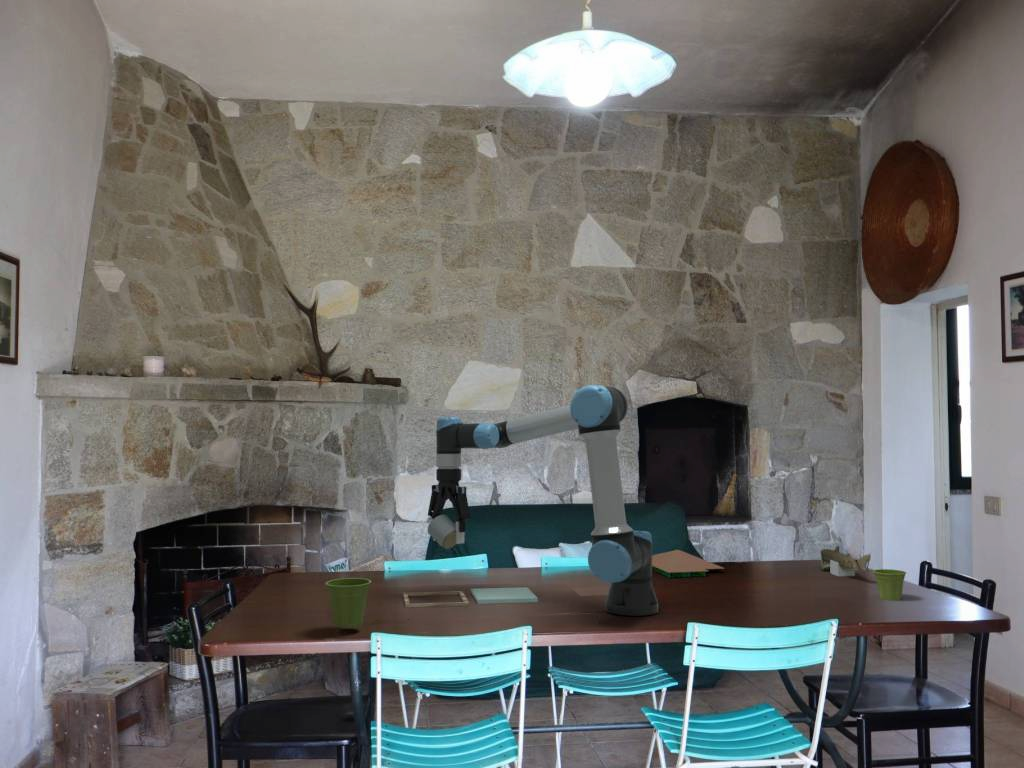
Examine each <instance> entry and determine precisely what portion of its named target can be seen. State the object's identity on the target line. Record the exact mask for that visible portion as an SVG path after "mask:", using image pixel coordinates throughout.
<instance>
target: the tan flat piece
mask: <svg viewBox="0 0 1024 768" xmlns="http://www.w3.org/2000/svg"><path fill="white" fill-rule="evenodd" d="M654 568H655V572H656V573H659V574H660V571H662V575H663V576H665V577H667V578H669V579H671V577H672V578H674V576H673V575H677V576H680V577H683V578H687V577H688V578H691V576H692V577H700V576H701V577H707V576H706V575H707V574H706V572H709V570H711V571H715V570H718V569H719V570H720V569H721V570H722V569H725V567H722V566H720V565H717V564H715V563H713V562H710V561H708V560H705V559H702V558H700V557H697V556H695V555H693V554H690V553H689V552H685V551H683V550H680V549H675V550H671V551H666V552H661V553H657V554H652V571H654ZM671 574H672V576H671Z"/></svg>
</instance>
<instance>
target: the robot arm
mask: <svg viewBox="0 0 1024 768" xmlns="http://www.w3.org/2000/svg"><path fill="white" fill-rule="evenodd" d="M628 406H629V405H628V400H627V397H626V396H625V394H624V393H623V392H622V391H621V390H619V389H618V388H616V387H613V386H605V385H601V384H590V385H589V384H588V385H585V386H583V387H580V388H579V389H578V390H577V391H576V392H575V393H574V395H573V396H572V398H571V400H570V404H568V405H564V406H560V407H556V408H553V409H552V408H551V409H549V410H544V411H540V412H537V413H533V414H530V415H525V416H521V417H517V418H513V419H509V420H506V421H505V420H504V421H502V422H497V423H489V422H481V423H480V422H479V423H478V422H477V423H463V422H462V418H461V417H458V416H457V417H456V416H452V417H451V416H449V417H448V416H445V417H442V416H441V417H438V418H437V420H436V429H435V433H436V456H435V457H436V458H435V459H436V461H435V462H436V463H435V467H437V469H436V473H435V474H436V475H435V477H436V481H437V482H438V484H432V485H431V494H430V495H431V496H430V499H429V504H428V510H427V511H428V512H427V516H428V517H431V519H432V520H433V519H434V518H436V517H437V516H439V515H442V513H443V510H444V507H445V505H446V503H447V501H448V500H449V502H451V505H452V507H453V511H454V513H455V516H456V521H455V524H456V545H458V544H460V545H461V544H465V535H464V532H465V533H466V521H468V520H471V513H470V508H469V501H468V497H467V496H468V495H467V486H463V485H462V486H460V483H459V482H461V480H462V469H461V468H460V467H461V466H462V449H481V450H488V449H494V448H495V449H497V448H498V449H505V448H508V447H510V446H511V445H516V444H519V443H524V442H528V441H532V440H536V439H540V438H544V437H549V436H553V435H558V434H561V433H566V432H570V431H574V430H578V436H579V437H581V438H582V439H583V440H584V441H585V450H586V457H587V466H588V467H587V468H588V475H589V484H590V491H591V492H590V493H591V500H592V507H593V518H594V526H595V527H594V529H593V530H592V531H591V533H590V537H591V548H590V549H589V551H588V555H587V564H588V568H589V569H590V571H591V573H592V574H593V576H595V577H596V578H597V579H598V580H600V581H602V582H604V583H609V584H610V586H609V590H608V592H607V596H606V599H605V602H604V605H605V608H604V610H605V611H606V612H608V613H611V614H613V615H614V614H615V615H620V616H629V617H630V616H632V617H633V616H635V617H637V616H639V617H640V616H651V615H655V614H657V613H659V602H658V599H657V597H656V596H657V595H656V593H655V590H654V586H653V570H652V555H653V543H654V542H653V540H652V539H653V538H652V534H651V532H649V531H644V530H634V529H633V528H632V527H631V526H629V525H628V523H627V518H626V517H627V516H626V511H625V510H626V509H625V500H624V493H623V484H622V476H621V469H620V468H621V467H620V461H619V452H618V444H617V436H618V435H619V434H620V433H621V431H622V430H621V429H622V428H621V422H623V420H624V419H625V418H626V416H627V413H628V411H629V410H628ZM432 540H433V542H435V541H436V540H435V539H434V538H433V537H432ZM436 542H437V541H436Z"/></svg>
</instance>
